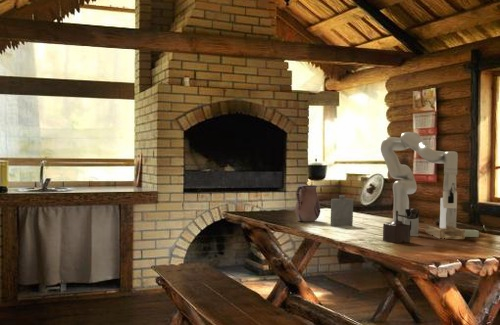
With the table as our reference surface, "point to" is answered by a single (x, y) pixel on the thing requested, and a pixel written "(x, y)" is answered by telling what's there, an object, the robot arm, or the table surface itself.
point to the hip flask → (341, 212)
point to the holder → (471, 233)
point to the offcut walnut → (447, 232)
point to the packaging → (447, 216)
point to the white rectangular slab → (445, 200)
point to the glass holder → (412, 222)
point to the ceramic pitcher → (307, 203)
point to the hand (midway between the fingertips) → (449, 202)
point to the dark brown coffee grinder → (398, 229)
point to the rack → (439, 231)
